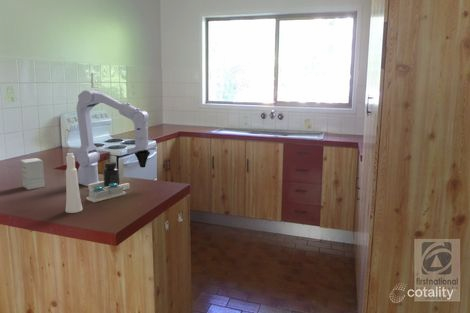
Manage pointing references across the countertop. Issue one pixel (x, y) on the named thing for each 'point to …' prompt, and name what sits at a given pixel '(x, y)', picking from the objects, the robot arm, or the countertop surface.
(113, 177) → the supplement bottle
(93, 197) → the white knob panel
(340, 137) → the countertop surface
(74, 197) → the cosmetic bottle
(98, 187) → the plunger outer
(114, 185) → the plunger inner
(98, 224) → the countertop surface
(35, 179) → the supplement box
